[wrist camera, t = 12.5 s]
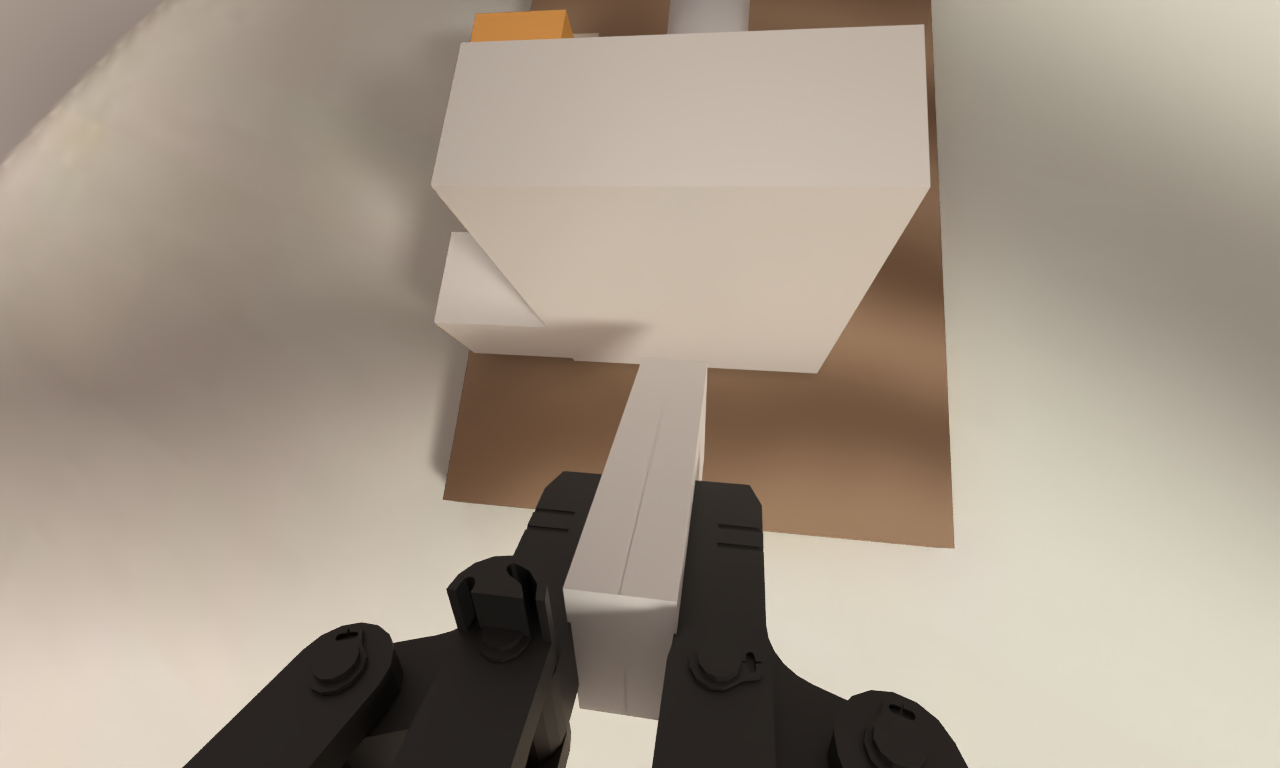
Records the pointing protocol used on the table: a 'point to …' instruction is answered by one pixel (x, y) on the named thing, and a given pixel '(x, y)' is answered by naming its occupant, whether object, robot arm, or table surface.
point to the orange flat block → (521, 26)
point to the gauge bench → (752, 399)
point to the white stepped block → (679, 188)
